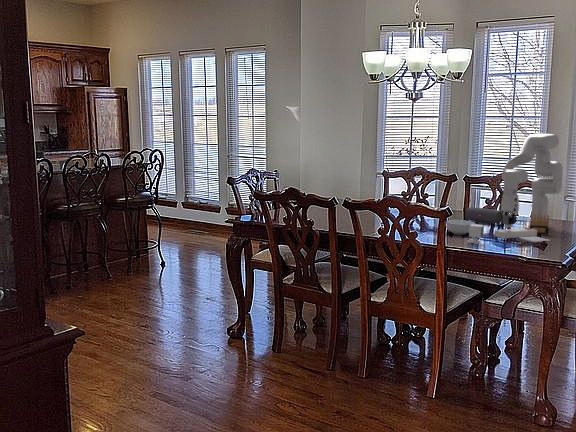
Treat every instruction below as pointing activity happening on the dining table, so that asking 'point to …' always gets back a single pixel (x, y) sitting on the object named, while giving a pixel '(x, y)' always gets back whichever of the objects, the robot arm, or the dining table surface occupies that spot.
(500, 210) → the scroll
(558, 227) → the dining table surface
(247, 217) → the dining table surface
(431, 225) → the dining table surface
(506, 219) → the block
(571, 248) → the dining table surface
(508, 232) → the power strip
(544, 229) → the ammunition clip
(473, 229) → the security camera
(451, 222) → the cereal bowl
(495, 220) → the bluetooth speaker
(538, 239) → the felt pad
